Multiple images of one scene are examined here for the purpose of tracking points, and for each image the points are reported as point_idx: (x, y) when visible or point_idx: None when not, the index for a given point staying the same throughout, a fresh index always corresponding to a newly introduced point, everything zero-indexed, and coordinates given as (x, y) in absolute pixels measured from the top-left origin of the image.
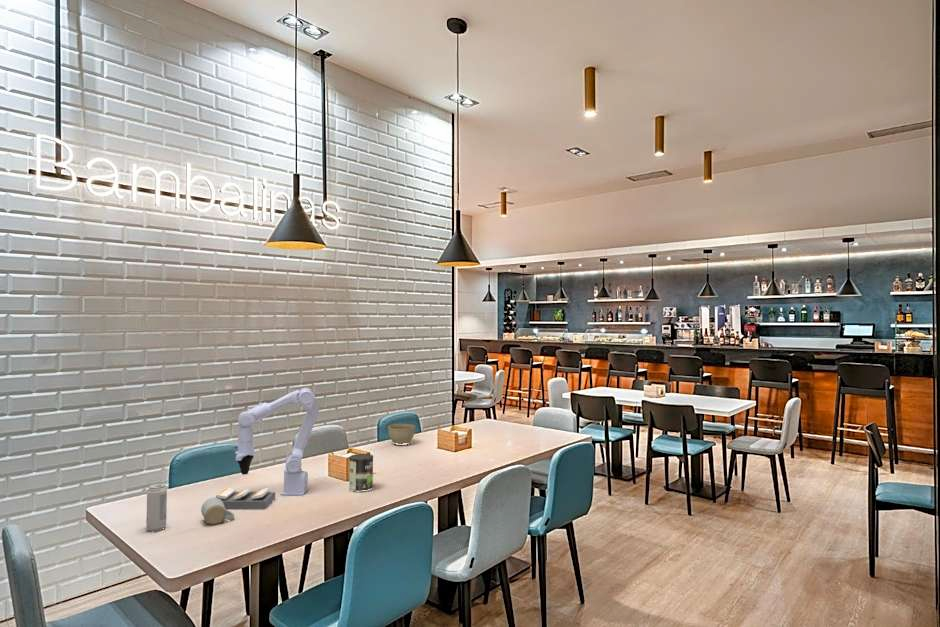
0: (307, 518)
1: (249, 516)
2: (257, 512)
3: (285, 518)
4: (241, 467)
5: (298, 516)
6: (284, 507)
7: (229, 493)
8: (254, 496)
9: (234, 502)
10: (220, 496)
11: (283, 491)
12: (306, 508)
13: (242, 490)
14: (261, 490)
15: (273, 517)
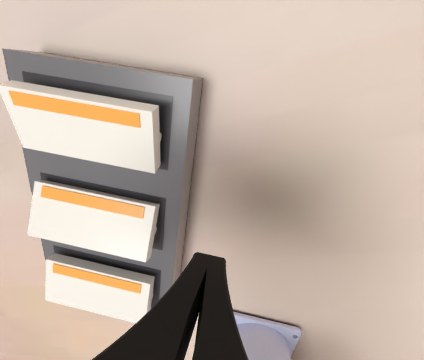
0: (23, 348)
1: (2, 230)
2: (41, 249)
3: (12, 312)
4: (168, 308)
5: (32, 335)
6: (95, 313)
7: (74, 152)
8: (47, 269)
9: (33, 182)
10: (14, 112)
11: (254, 322)
12: (91, 354)
13: (141, 210)
14: (124, 292)
15: (11, 288)
